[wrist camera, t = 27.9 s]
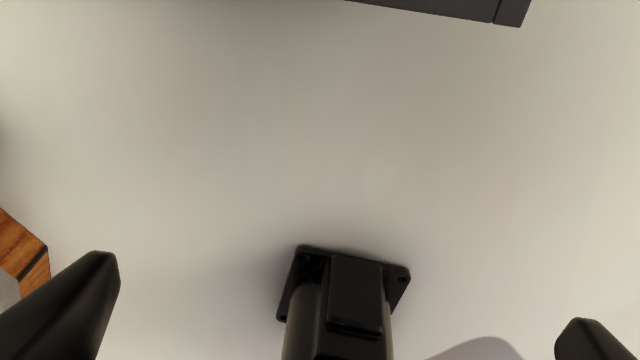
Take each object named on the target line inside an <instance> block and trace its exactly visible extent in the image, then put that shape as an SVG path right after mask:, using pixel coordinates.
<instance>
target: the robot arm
mask: <svg viewBox="0 0 640 360" xmlns="http://www.w3.org/2000/svg"><path fill="white" fill-rule="evenodd" d="M303 255H306V256H303ZM399 276H402V277H399ZM410 280H411V276H410V271H409V270H408V269H406V268H403V267H399V266H394V265H389V264H385V263H380V262H376V261H371V260H366V259H362V258H357V257H353V256H348V255H343V254H339V253H334V252H330V251H325V250H321V249H316V248H311V247H307V246H300V247H298V248H296V250H295V253H294V256H293V259H292V263H291V266H290V269H289V273H288V276H287V279H286V282H285V286H284V289H283V292H282V296H281V299H280V302H279V306H278V309H277V314H276V319H277V320H278V321H280V322H283V323H286V330H285V337H284V343H283V350H282V357H281V360H394V359H393V343H392V327H391V315H392V313H393V311H394V309H395V307H396V306H397V304H398V302H399V300H400V298H401V297H402V295H403V293H404V291H405V290H406V288H407V286H408V284H409V282H410ZM120 285H121V280H120V274H119V269H118V264H117V259H116V256H115V255H114V254H113V253H111V252H105V251H98V250H94V251H91V252H89V253H87V254H86V255H84V256H83V257H81V258H80V259H78V260H77V261H76V262H74V263H73V264H71V265H70V266H68V267H67V268H65V269H64V270H63V271H61V272H60V273H58V274H57V275H55V276H54V277H53V278H51V279H50V280H48V281H47V282H45V283H44V284H43V285H41V286H40V287H38V288H37V289H35V290H34V291H33V292H31V293H30V294H28V295H27V296H25V297H24V298H23V299H21V300H20V301H18V302H17V303H15V304H14V305H13V306H11V307H10V308H8V309H7V310H5V311H4V312H3V313H1V314H0V360H95V359H96V356H97V353H98V350H99V348H100V345H101V342H102V339H103V336H104V334H105V331H106V328H107V325H108V322H109V319H110V317H111V314H112V311H113V308H114V305H115V303H116V300H117V297H118V294H119V291H120ZM554 354H555V360H638V359H637V358H636V357H635V356H634V355H633V354H632V353H630V352H629V351H628V350H627V349H626V348H625V347H624V346H623V345H622V344H621V343H620V342H619V341H618V340H617V339H616V338H615V337H614V336H613V335H612V334H611V333H610V332H609V331H608V330H607V329H606V328H605V327H604V326H603V325H602V324H601V323H599V322H598V321H596V320H593V319H587V318H580V317H575V318H573V319H572V320H571V321H570V322H569V323H568V325H567V326H566V327H565V329H564V330H563V331H562V333H561V334H560V336H559V337H558V338H557V340H556V342H555V346H554Z"/></svg>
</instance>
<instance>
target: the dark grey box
mask: <svg viewBox="0 0 640 360" xmlns="http://www.w3.org/2000/svg"><path fill="white" fill-rule="evenodd" d="M345 1H351V2H358V3H364V4H370V5H377V6H383V7H390V8H396V9H402V10H409V11H415V12H421V13H428V14H434V15H440V16H447V17H453V18H460V19H466V20H472V21H479V22H485V23H491V22H492V23H493V24H497V25H503V26H510V27H516V28H520V27H521V25H522V22H523V20H524V17H525V15H526V13H527V10H528V8H529V5H530V3H531V0H345Z"/></svg>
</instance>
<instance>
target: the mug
mask: <svg viewBox="0 0 640 360" xmlns="http://www.w3.org/2000/svg"><path fill="white" fill-rule="evenodd" d="M50 279H51V277H50V269H49V260H48V251H47V246H45V245H44V244H43V243H42V242H41V241H39V240H38V239H37V238H36V237H34V236H33V235H32V234H31V233H30V232H28V231H27V230H26V229H25V228H23V227H22V226H21V225H20V224H19V223H17V222H16V221H15V220H14V219H12V218H11V217H10V216H9V215H8V214H6V213H5V212H4V211H3V210H1V209H0V314H1V313H3V312H4V311H5V310H7V309H8V308H10V307H11V306H13V305H14V304H15V303H17V302H18V301H20V300H21V299H23V298H24V297H25V296H27V295H28V294H30V293H31V292H33V291H34V290H35V289H37V288H38V287H40V286H41V285H43V284H44V283H45V282H47V281H48V280H50Z"/></svg>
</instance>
